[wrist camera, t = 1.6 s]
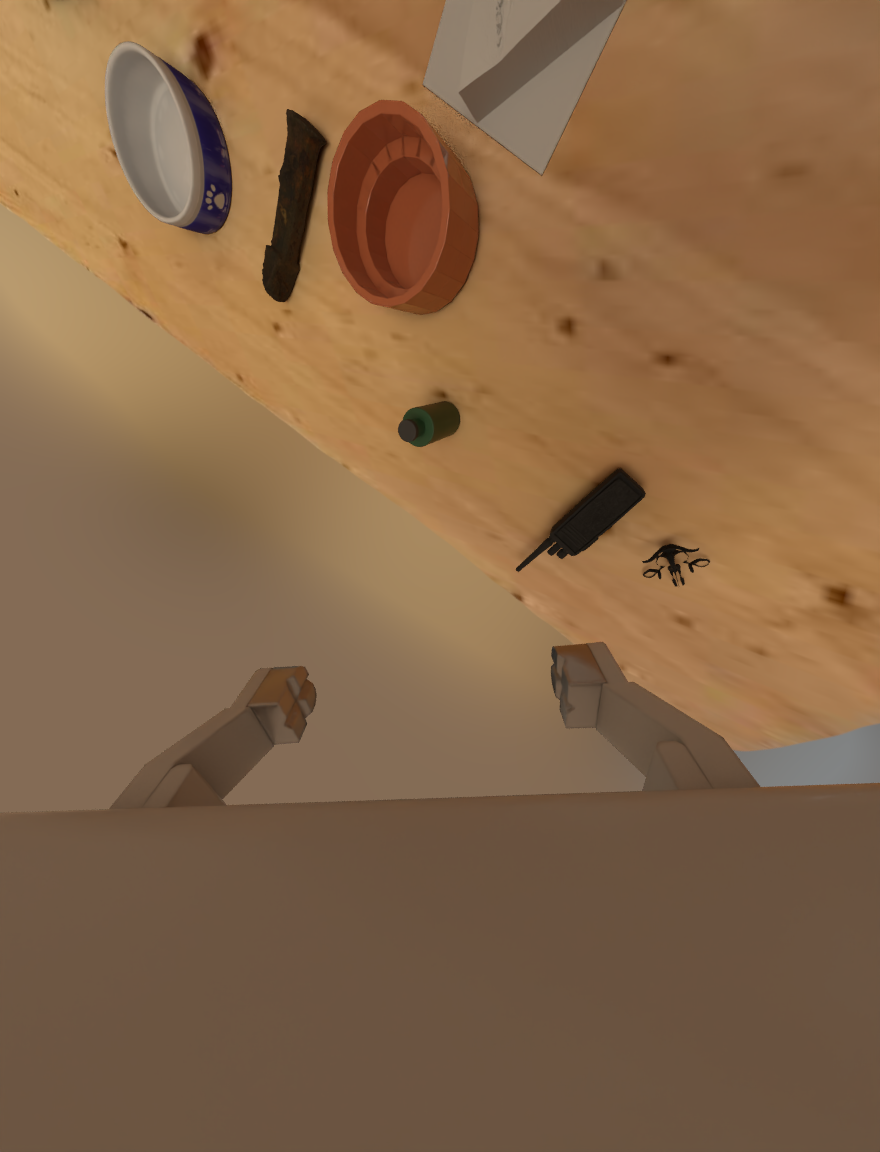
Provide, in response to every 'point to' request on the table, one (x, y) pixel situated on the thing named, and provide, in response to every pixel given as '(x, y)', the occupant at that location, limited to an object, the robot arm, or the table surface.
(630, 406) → the table surface
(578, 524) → the walkie-talkie
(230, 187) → the dog bowl
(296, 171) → the dark brown rough bar
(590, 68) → the ramp
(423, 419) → the plant food bottle
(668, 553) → the creature
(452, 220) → the pot
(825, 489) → the table surface
